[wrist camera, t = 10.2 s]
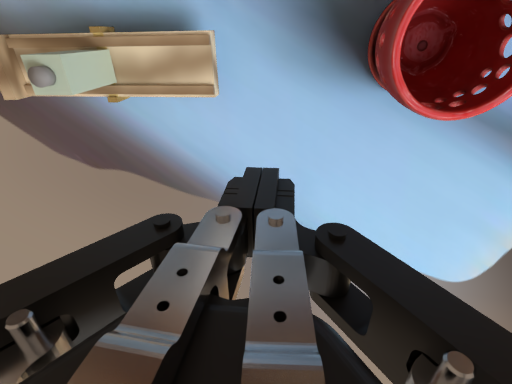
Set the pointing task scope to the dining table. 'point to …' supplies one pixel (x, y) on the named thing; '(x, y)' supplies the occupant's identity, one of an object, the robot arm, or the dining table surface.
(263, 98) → the dining table surface
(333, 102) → the dining table surface
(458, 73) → the plant pot
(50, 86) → the block
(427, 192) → the dining table surface
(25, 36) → the beam
